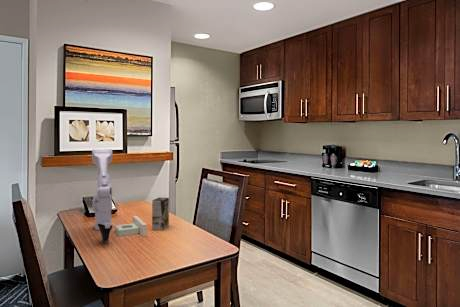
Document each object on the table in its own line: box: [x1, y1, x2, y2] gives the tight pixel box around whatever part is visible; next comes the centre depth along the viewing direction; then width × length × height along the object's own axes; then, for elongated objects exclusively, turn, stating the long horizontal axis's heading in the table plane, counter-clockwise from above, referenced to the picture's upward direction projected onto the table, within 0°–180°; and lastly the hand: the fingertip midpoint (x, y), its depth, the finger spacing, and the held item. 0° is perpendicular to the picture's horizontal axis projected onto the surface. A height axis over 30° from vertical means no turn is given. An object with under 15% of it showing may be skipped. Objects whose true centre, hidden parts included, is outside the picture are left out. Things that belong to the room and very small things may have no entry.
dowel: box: [101, 237, 109, 244], centre depth 156 cm, size 3×3×6 cm
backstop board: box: [132, 215, 148, 237], centre depth 174 cm, size 20×2×6 cm, turn 30°
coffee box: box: [151, 197, 170, 231], centre depth 181 cm, size 9×6×16 cm
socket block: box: [114, 222, 140, 237], centre depth 172 cm, size 10×10×3 cm
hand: (105, 239), depth 156 cm, fingers closed on dowel, 3 cm apart
